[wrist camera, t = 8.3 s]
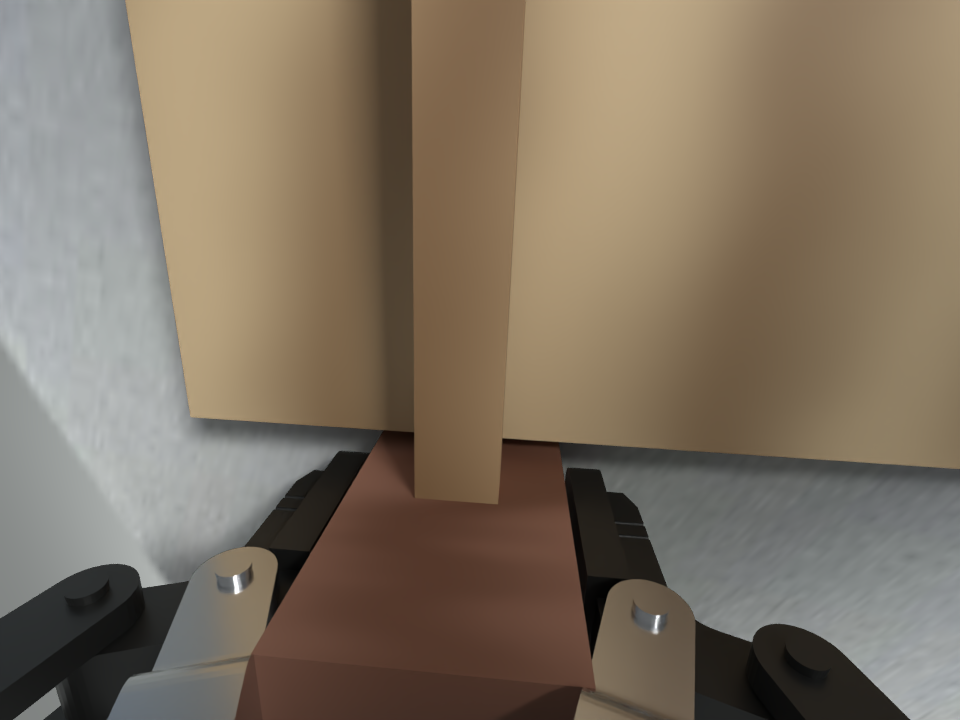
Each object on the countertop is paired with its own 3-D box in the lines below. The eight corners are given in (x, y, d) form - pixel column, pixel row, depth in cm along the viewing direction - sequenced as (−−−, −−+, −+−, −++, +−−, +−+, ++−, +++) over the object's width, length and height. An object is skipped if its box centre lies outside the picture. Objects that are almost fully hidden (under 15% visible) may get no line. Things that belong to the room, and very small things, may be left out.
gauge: (600, -77, 9) (804, -791, 3) (544, 552, 13) (565, 898, 7) (384, -77, 9) (58, -730, 3) (397, 540, 14) (279, 863, 7)
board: (1587, -99, 8) (1919, -191, 6) (1269, 449, 11) (1425, 501, 9) (180, -97, 10) (96, -170, 8) (239, 384, 13) (189, 418, 11)
